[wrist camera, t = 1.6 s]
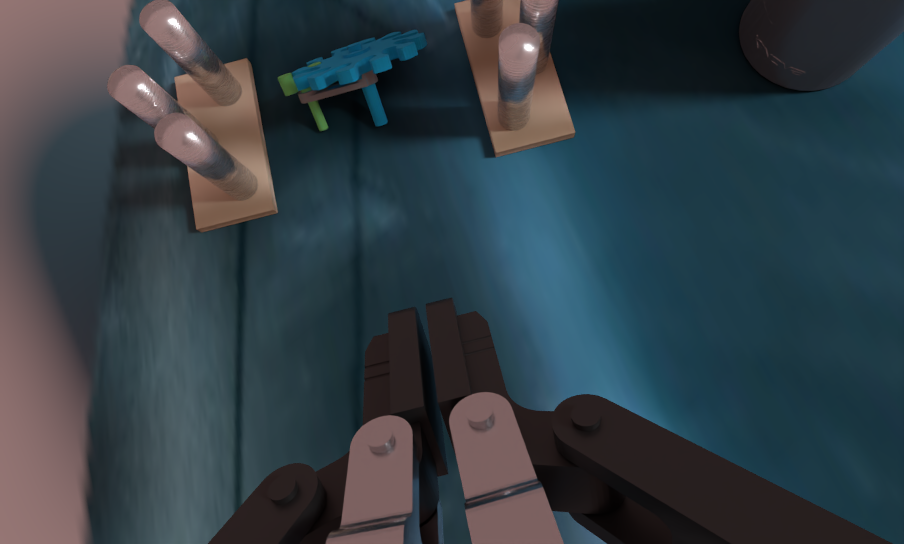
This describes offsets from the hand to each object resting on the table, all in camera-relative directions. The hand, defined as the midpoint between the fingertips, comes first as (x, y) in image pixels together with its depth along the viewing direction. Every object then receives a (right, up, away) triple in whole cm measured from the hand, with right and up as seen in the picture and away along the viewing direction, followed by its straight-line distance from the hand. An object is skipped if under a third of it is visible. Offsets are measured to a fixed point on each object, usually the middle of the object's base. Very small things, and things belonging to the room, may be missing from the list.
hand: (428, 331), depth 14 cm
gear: (-6, +16, +28) cm, 33 cm away
